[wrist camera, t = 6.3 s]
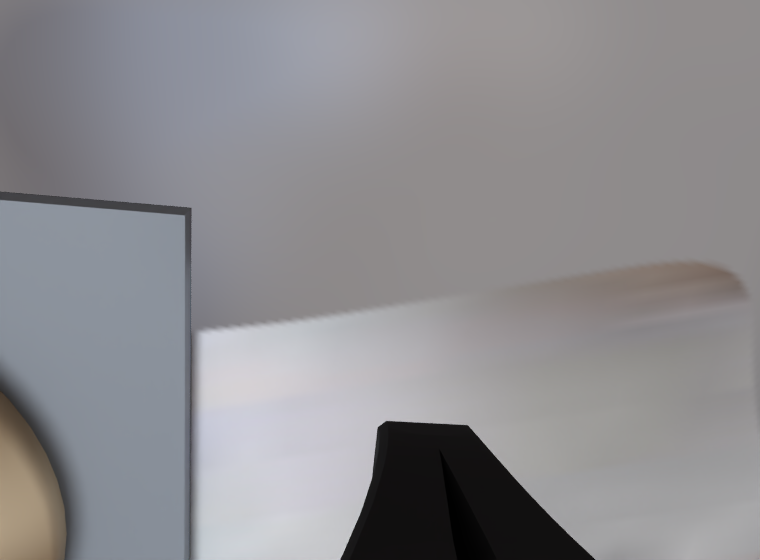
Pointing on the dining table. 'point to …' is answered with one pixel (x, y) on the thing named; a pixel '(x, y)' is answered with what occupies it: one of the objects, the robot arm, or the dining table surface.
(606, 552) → the dining table surface
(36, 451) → the dial
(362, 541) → the robot arm
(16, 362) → the grey flat square board
